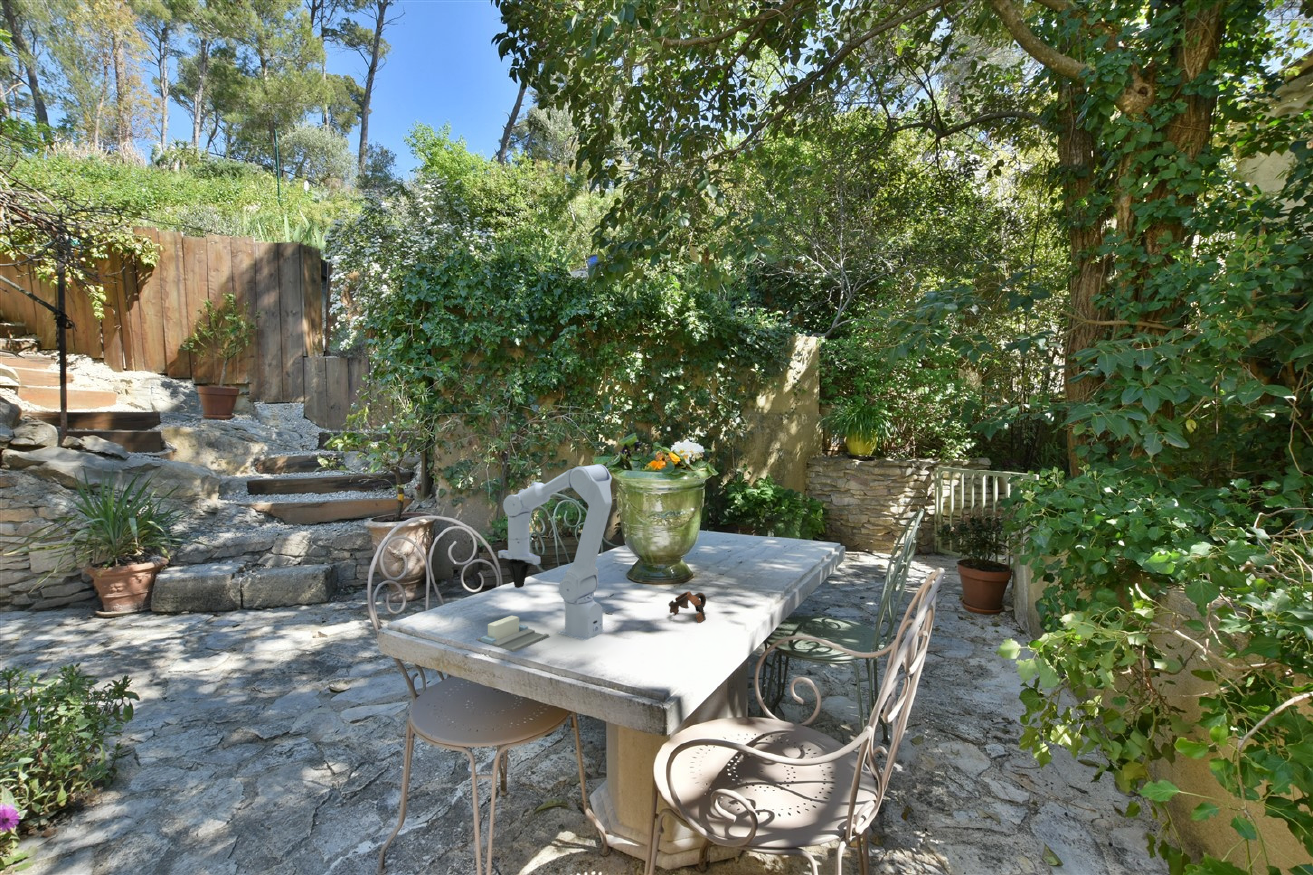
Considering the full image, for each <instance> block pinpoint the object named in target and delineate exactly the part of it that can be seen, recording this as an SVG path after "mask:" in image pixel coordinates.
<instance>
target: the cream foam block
mask: <svg viewBox="0 0 1313 875" xmlns="http://www.w3.org/2000/svg"><path fill="white" fill-rule="evenodd" d="M519 624H520V617H519V616H515V615H509V616H506V617H504V618H501V619H499V620H495V621H493V622H490V623H488V624H487V635H488V637H492V638H495V639H496V641H498V640H500V639H503V638H505V637H508V636H510V635H513V634H515V633H518V632H519Z"/></svg>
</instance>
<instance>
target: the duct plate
mask: <svg viewBox="0 0 1313 875" xmlns="http://www.w3.org/2000/svg"><path fill="white" fill-rule="evenodd" d="M548 638H551V636H550V634H549V633H544V634H542V633H538V632H536V631H535V629H531V628H529V626H528V625H524V624H520V623H519V632H518V633H515V634H513V635H510V636H508V637H505V638H503V639H500V640H498V641H496V639H495V638H492V637H488V634H486V635H483V636H481V637H479V638H477V639H475V641H478V642H481V643H485V644H488V645H491V646H494V647H497V648H500V649H504V650H506V651H510V652H513V653H516V652H518V651H521V650H523V649H526V648H528V647H530V646H532V645H534V644H536V643H539V642H542V641H544V640H546V639H548Z"/></svg>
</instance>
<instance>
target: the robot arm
mask: <svg viewBox="0 0 1313 875" xmlns="http://www.w3.org/2000/svg"><path fill="white" fill-rule="evenodd" d="M612 479H613V476H612V475H611V473H610V471H609V470H608V468H607V467H606V466H605V465H603V464H601V463H596V464H594V465H593V464H592V465H585V466H582V465H581V466H576V467H574V468H572V469H568V470H567V471H565V472H563V473H561V474H559V475H558V476H556V477H555V478H553V479H551V480H550V481H548V482H546V483H543V482H537V481H535V482H531V483H530V486H529V487H527V488H525V489H524V488H523V489H520V490H519V491H518V493H517V494H509V495H507V496H506V497H505V498H504V500H503V502H502V503H503V504H502V507H503V508H502V509H503V511H504V513H505V515H507V550H506V549H501V550H498V551H497V554H498V558H499V559H503V558H504V559H507V560H509V561H507V562H506V563H505V564H506V567H507V569H508V571H509V572H510V575H511V577H512V582H513V585H514V588H517V589H520V588H523V587H524V585H525V581H526V577H527V575H528V571H529V569H530V568H531V566H532V565H533V566H537V565H540V564H541V556H539V555H536V554H534V553H531V552H530V547H531V546H530V520H531V517H532V516H531V515H532V514H531V513H532V512H533V510H535V509H536V508H538V507H540V506H542V505H544V504H546V503H548V502H549V501H550V500H551V497H552V495H554V494H556V493H558V492H560V491H563V490H565V489H567V488H569V489H570V488H571V489H573V490H574V491H575V492H576V493H577V494H578V495H579V496H580V498H582V500H583V501H584V502H585V503H587V506H588V508H587V512H586V515H585V516H586V517H585V519H584V523H583V527H582V530H581V534H580V537H579V542H578V545H577V549H576V552H575V557H574V560H573V563H572V564H571V565H570V566H569V568H567V569H566V571H565V574H564V577H563V578H562V579H561V580H560V581H559V584H558V591H559V595H560V597H561V598H562V599H563V602H564V629H562V630H560V631H559V630H558V632H557V634H560V635H563V636H565V637H570V638H575V639H578V640H581V641H588V640H589V639H591V638H594V637H596V636H598V635H600V634H602V633H604V632H605V629H604V630H603V628H604V624H603V620H604V618H603V617H604V616H603V614H604V613H603V612H604V611H603V608H602V605H601V604H600V603H599V602H596V601H595V600H594V596H595V592H596V591H597V590H598V587H599V572H600V571H599V569H598V568H597V567H596V566H595V565H596V563H597V560H598V556H599V551H600V548H601V544H602V540H603V537H604V533H605V530H606V526H607V522H608V519H609V516H610V512H611V508H612V504H613V498H612V489H611V483H612Z"/></svg>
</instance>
